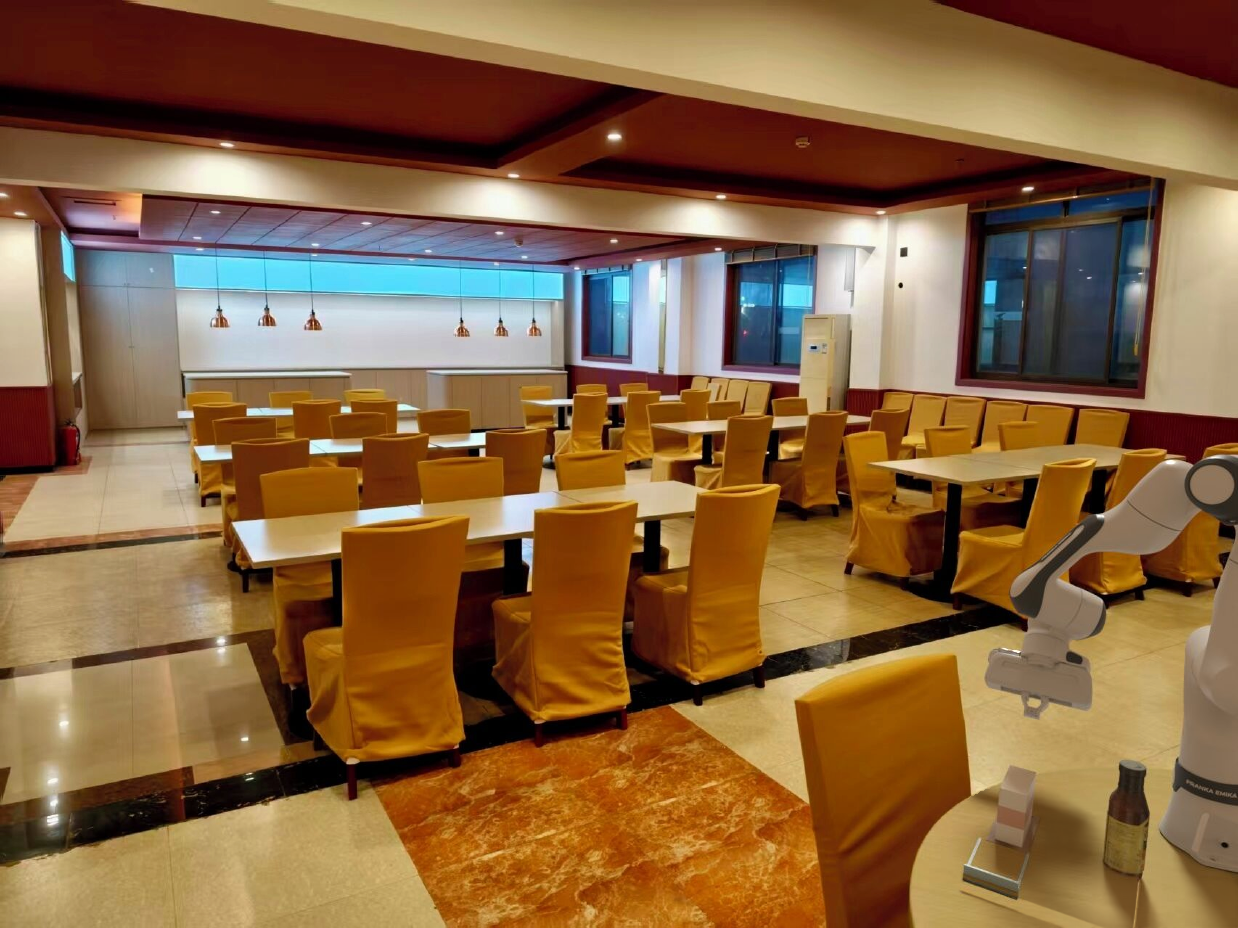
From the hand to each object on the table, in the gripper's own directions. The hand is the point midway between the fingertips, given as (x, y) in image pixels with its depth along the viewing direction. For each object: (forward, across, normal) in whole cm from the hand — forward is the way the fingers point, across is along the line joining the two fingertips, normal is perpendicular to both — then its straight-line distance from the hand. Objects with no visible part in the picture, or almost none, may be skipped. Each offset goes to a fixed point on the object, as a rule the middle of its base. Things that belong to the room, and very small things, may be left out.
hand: (1031, 716), depth 174 cm
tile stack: (+25, +2, -6) cm, 26 cm away
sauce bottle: (+26, +19, -5) cm, 32 cm away
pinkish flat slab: (+26, +2, -4) cm, 26 cm away
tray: (+35, +1, -14) cm, 37 cm away
